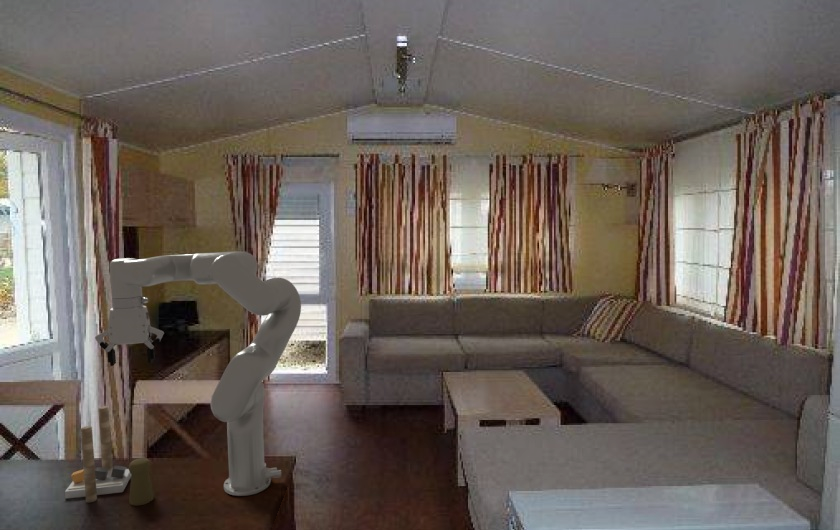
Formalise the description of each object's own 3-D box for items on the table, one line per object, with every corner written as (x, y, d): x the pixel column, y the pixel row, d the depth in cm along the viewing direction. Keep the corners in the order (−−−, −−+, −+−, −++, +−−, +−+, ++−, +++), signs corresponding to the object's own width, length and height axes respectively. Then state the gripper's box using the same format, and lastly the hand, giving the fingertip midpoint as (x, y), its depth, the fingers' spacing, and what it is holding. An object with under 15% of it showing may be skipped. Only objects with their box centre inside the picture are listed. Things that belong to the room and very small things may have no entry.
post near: (98, 496, 153) (93, 425, 151) (95, 501, 150) (90, 429, 148) (87, 498, 152) (82, 426, 150) (84, 503, 150) (79, 430, 148)
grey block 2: (124, 475, 161) (126, 466, 161) (122, 478, 159) (124, 470, 159) (112, 473, 160) (114, 465, 160) (110, 476, 158) (112, 468, 158)
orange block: (87, 476, 159) (84, 468, 158) (85, 479, 157) (82, 471, 156) (76, 480, 158) (73, 472, 158) (74, 483, 156) (70, 475, 156)
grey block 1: (106, 476, 160) (108, 468, 160) (104, 480, 158) (106, 472, 158) (95, 475, 159) (97, 467, 159) (93, 478, 157) (94, 470, 157)
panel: (131, 475, 165) (131, 467, 165) (122, 492, 155) (122, 484, 155) (78, 480, 162) (77, 473, 162) (65, 498, 152) (64, 490, 152)
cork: (144, 506, 148) (141, 466, 147) (123, 504, 149) (121, 464, 148) (159, 494, 154) (156, 456, 153) (139, 492, 155) (137, 454, 154)
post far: (114, 471, 167) (109, 405, 165) (111, 475, 165) (106, 409, 163) (104, 472, 167) (99, 406, 165) (101, 476, 164) (96, 409, 162)
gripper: (163, 299, 163) (167, 357, 165) (97, 302, 159) (101, 362, 161) (158, 303, 156) (162, 364, 158) (88, 307, 151) (93, 369, 153)
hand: (132, 363), depth 159 cm, fingers open, 9 cm apart
